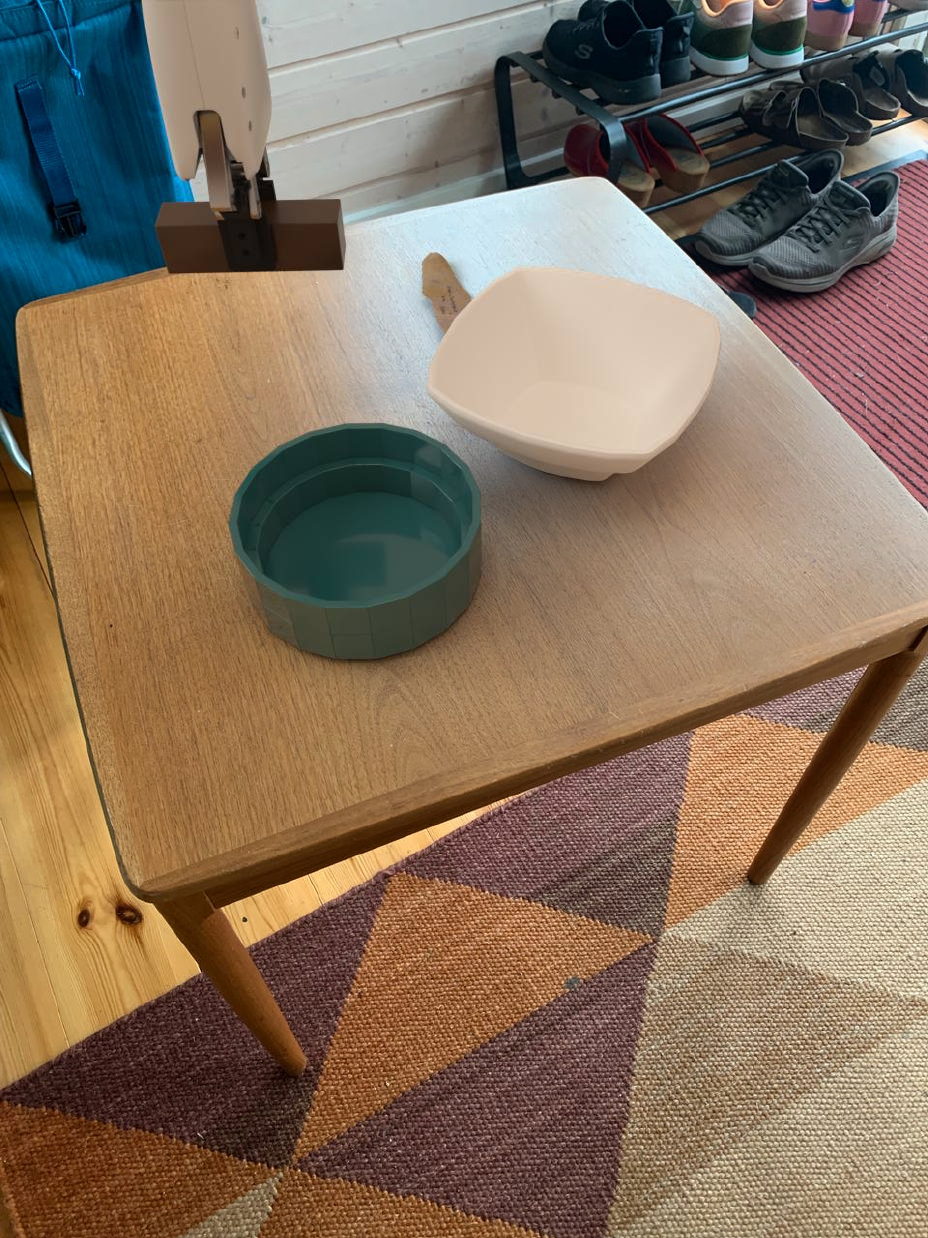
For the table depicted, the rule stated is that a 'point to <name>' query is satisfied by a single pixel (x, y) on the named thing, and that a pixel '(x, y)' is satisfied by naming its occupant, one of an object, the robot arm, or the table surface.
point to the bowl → (576, 369)
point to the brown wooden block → (297, 227)
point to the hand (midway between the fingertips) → (256, 250)
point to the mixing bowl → (358, 539)
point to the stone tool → (443, 290)
